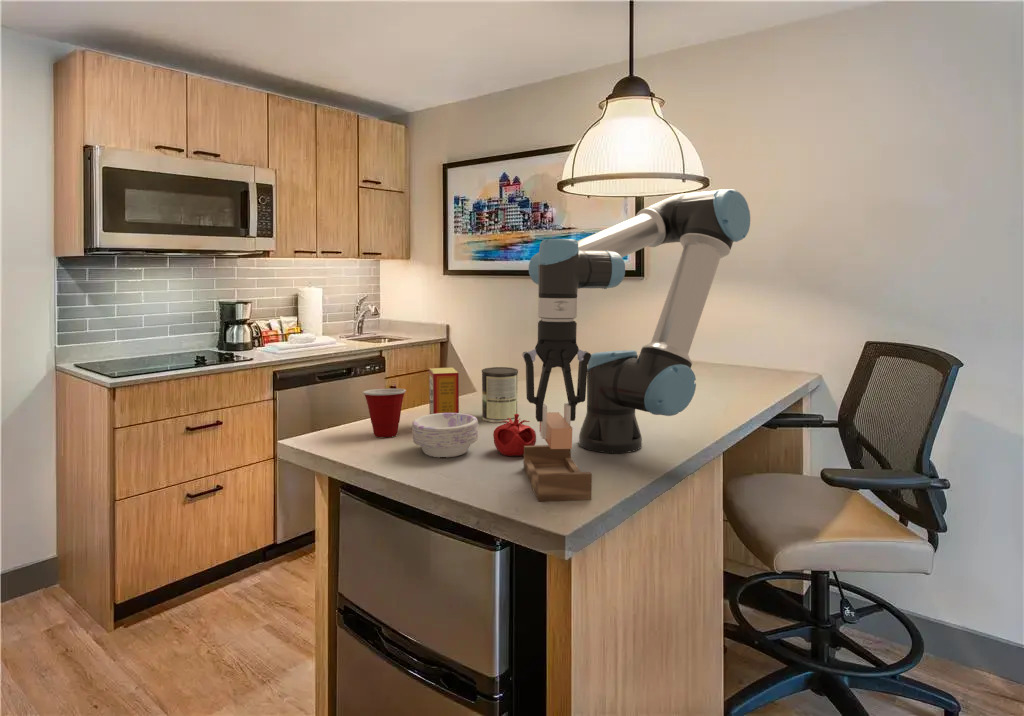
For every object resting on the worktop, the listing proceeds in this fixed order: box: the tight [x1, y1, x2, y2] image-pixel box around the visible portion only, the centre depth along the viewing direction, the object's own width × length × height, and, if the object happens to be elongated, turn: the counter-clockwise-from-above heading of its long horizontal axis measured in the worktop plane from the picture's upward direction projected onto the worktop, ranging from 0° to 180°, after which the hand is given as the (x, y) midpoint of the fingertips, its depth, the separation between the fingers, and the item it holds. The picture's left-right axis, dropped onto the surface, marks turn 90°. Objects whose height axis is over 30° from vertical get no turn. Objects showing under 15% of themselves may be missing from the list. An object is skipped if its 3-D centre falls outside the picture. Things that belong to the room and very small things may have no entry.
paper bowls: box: [411, 412, 479, 458], centre depth 151 cm, size 15×15×8 cm
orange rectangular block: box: [539, 411, 573, 450], centre depth 129 cm, size 14×4×4 cm, turn 7°
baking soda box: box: [428, 367, 460, 415], centre depth 173 cm, size 10×6×16 cm
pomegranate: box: [492, 413, 537, 457], centre depth 151 cm, size 10×10×9 cm
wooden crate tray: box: [523, 444, 593, 503], centre depth 130 cm, size 20×10×5 cm, turn 7°
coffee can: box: [481, 366, 519, 424], centre depth 184 cm, size 10×10×14 cm
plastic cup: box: [362, 388, 407, 438], centre depth 165 cm, size 11×11×12 cm
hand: (555, 436), depth 129 cm, fingers closed on orange rectangular block, 4 cm apart
